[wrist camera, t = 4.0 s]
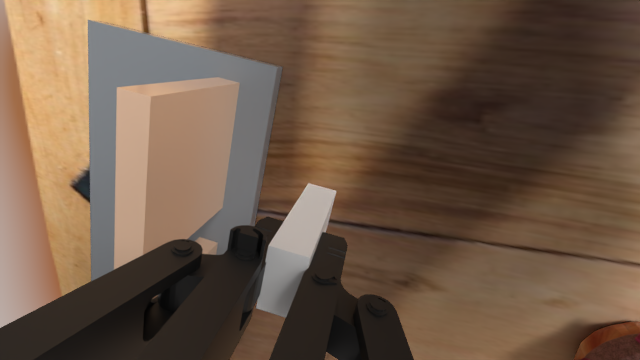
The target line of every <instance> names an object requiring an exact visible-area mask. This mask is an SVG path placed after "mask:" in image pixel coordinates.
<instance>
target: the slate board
mask: <svg viewBox="0 0 640 360" xmlns="http://www.w3.org/2000/svg"><path fill="white" fill-rule="evenodd" d="M88 64H89V142H90V219H91V281H93V280H95V279H97V278H99V277H101V276H103V275H105V274H107V273H109V272H111V271H113V270H114V239H115V172H116V106H117V87H125V86H135V85H145V84H155V83H165V82H175V81H185V80H195V79H205V78H215V77H219V78H223V79H227V80H231V81H235V82H238V83H240V84H239V92H238V99H237V106H236V113H235V121H234V128H233V135H232V143H231V150H230V157H229V164H228V172H227V179H226V186H225V194H224V201H223V208H222V209H221V210H219V211H218V212H217V213H216V214H215V215H214V216H213V217H212V218H210V219H209V220H208V221H207V222H206V223H205V224H204V225H203V226H201V227H200V228H199V229H198V230H197V231H196V232H195V233H194V234H192V235H191V236H190V237H189V238H188V240H192V241H196V240H197V239H198V238H199V237H201V238H204V239H207V240H211V241H214V242H217V243H218V245H217V252H216V255H222V254H224V253H225V252H226V251H227V248H228V242H229V235H230V230H231V229H232V228H234V227H236V226H240V225H249V226H254V227H255V221H256V215H257V210H258V204H259V198H260V193H261V187H262V181H263V176H264V170H265V164H266V159H267V153H268V147H269V142H270V136H271V131H272V125H273V119H274V114H275V108H276V102H277V97H278V91H279V85H280V80H281V74H282V68H283V67H282V66H278V65H274V64H270V63H266V62H262V61H258V60H254V59H250V58H246V57H242V56H238V55H234V54H230V53H226V52H222V51H218V50H214V49H210V48H206V47H202V46H198V45H194V44H190V43H186V42H182V41H178V40H174V39H170V38H166V37H162V36H158V35H153V34H149V33H145V32H141V31H137V30H133V29H129V28H125V27H121V26H117V25H113V24H109V23H105V22H101V21H93V20H88Z"/></svg>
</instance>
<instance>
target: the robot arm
mask: <svg viewBox="0 0 640 360" xmlns="http://www.w3.org/2000/svg"><path fill="white" fill-rule="evenodd" d="M335 195H336V191H335V190H332V189H328V188H324V187H321V186H317V185H314V184H310V183H308V185H307V186H306V188H305V189H304V191H303V192H302V194H301V196H300V197H299V199H298V200H297V202H296V203H295V205H294V206H293V208H292V210H291V211H290V213H289V214H288V216H287V217H286V219H285V220H284V221H280V220H277V219H274V218H270V217H266V218H264V219H261V220H259V221H258V223H257V224H256V225H255V227H254V226H249V225H240V226H236V227H234V228H232V229H231V230H230V235H229V242H228V248H227V251H226V252H225V253H224V254H222V255H212V254H202V251H203V249H202V247H201V245H200V244H198V243H197V242H195V241H192V240H188V239H177V240H172V241H170V242H167V243H165V244H163V245H161V246H159V247H157V248H155V249H153V250H151V251H150V252H148V253H146V254H144V255H142V256H140V257H138V258H136V259H134V260H132V261H130V262H128V263H126V264H124V265H122V266H120V267H118V268H116V269H114V270H113V271H111V272H109V273H107V274H105V275H103V276H101V277H99V278H97V279H95V280H93V281H91V282H89V283H87V284H85V285H83V286H81V287H79V288H77V289H76V290H74V291H72V292H70V293H68V294H66V295H64V296H62V297H60V298H58V299H56V300H54V301H52V302H50V303H48V304H46V305H45V306H42V307H40V308H39V309H37V310H35V311H33V312H31V313H29V314H27V315H25V316H23V317H21V318H19V319H17V320H15V321H13V322H11V323H9V324H7V325H5V326H3V327H2V328H0V360H229V359H230V357H231V356H232V354H233V352H234V350H235V348H236V346H237V344H238V342H239V340H240V338H241V336H242V335H243V333H244V331H245V329H246V327H247V325H248V323H249V321H250V319H251V316H252V312H253V307H254V305H255V303H256V301H257V299H258V301H257V306H256V308H257V309H260V310H263V311H266V312H270V313H273V314H276V315H279V316H282V317H285V318H286V319H285V322H284V324H283V327H282V329H281V332H280V334H279V337H278V339H277V342H276V344H275V347H274V349H273V352H272V354H271V357H270V359H269V360H324V359H325V354H326V352H328V353H329V354H331V355H332V356H334V357H335V358H337V359H338V360H414V359H413V356H412V354H411V351H410V348H409V345H408V342H407V339H406V337H405V334H404V331H403V328H402V325H401V323H400V320H399V317H398V314H397V311H396V310H395V308H394V306H393V305H392V304H391V303H390V302H389V301H388V300H386V299H384V298H382V297H380V296H376V295H367V294H366V295H363V296H361V297H360V298H359V299H357V298H355V297H354V296H352V295H351V294H349V293H348V292H347V291H346V290H345V289H344V288H343V286H342V284H341V274H342V270H343V265H344V260H345V255H346V251H347V246H348V245H347V243H346V241H345V239H344V238H342V237H338V236H335V235H332V234H328V233H326V229H327V226H328V222H329V218H330V214H331V210H332V207H333V203H334V199H335ZM157 295H158V296H157ZM155 296H157V297H155ZM154 297H155V298H154ZM153 298H154V299H153Z"/></svg>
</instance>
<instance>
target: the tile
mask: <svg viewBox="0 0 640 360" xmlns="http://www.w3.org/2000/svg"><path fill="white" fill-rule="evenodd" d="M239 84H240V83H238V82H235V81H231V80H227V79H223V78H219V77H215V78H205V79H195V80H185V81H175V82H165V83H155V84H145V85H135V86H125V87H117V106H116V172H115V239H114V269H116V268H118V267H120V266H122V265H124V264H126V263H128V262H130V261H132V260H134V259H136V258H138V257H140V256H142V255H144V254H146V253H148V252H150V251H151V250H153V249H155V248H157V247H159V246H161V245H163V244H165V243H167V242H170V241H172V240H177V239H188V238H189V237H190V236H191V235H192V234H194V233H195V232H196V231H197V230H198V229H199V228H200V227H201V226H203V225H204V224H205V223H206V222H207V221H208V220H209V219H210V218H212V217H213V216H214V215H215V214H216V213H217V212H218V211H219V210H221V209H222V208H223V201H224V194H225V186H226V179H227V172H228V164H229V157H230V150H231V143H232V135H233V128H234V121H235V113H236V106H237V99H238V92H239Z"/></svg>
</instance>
